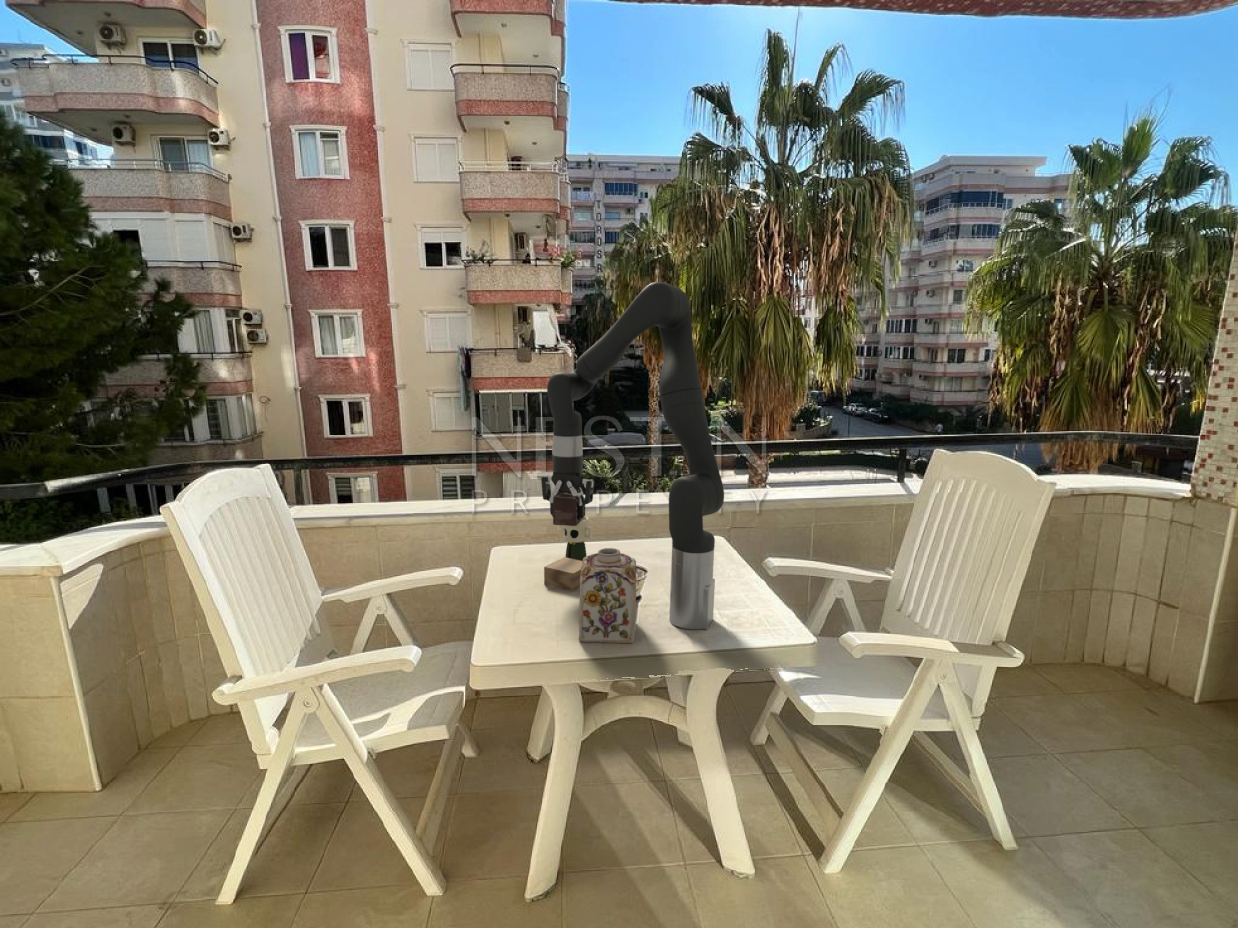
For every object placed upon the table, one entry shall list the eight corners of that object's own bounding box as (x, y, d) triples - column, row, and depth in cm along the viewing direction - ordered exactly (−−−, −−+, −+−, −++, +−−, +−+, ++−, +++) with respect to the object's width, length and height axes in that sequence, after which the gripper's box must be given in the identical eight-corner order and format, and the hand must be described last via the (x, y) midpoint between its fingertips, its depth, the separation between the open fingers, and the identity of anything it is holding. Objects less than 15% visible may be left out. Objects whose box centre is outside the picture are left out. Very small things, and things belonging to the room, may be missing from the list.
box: (575, 527, 147) (575, 498, 146) (552, 525, 148) (552, 496, 147) (581, 520, 153) (582, 493, 152) (559, 519, 154) (559, 491, 153)
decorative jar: (635, 644, 121) (637, 560, 118) (578, 643, 121) (578, 559, 118) (634, 619, 133) (636, 542, 130) (582, 618, 133) (583, 541, 130)
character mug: (553, 561, 170) (553, 517, 168) (569, 555, 176) (569, 512, 174) (583, 569, 164) (583, 524, 162) (598, 562, 170) (599, 518, 168)
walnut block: (592, 581, 156) (592, 563, 155) (573, 592, 148) (573, 573, 148) (564, 574, 161) (564, 557, 160) (544, 585, 153) (544, 566, 152)
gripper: (599, 453, 149) (599, 517, 152) (548, 449, 154) (548, 511, 157) (588, 457, 142) (587, 524, 145) (534, 453, 147) (535, 518, 150)
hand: (567, 517), depth 151 cm, fingers closed on box, 6 cm apart
